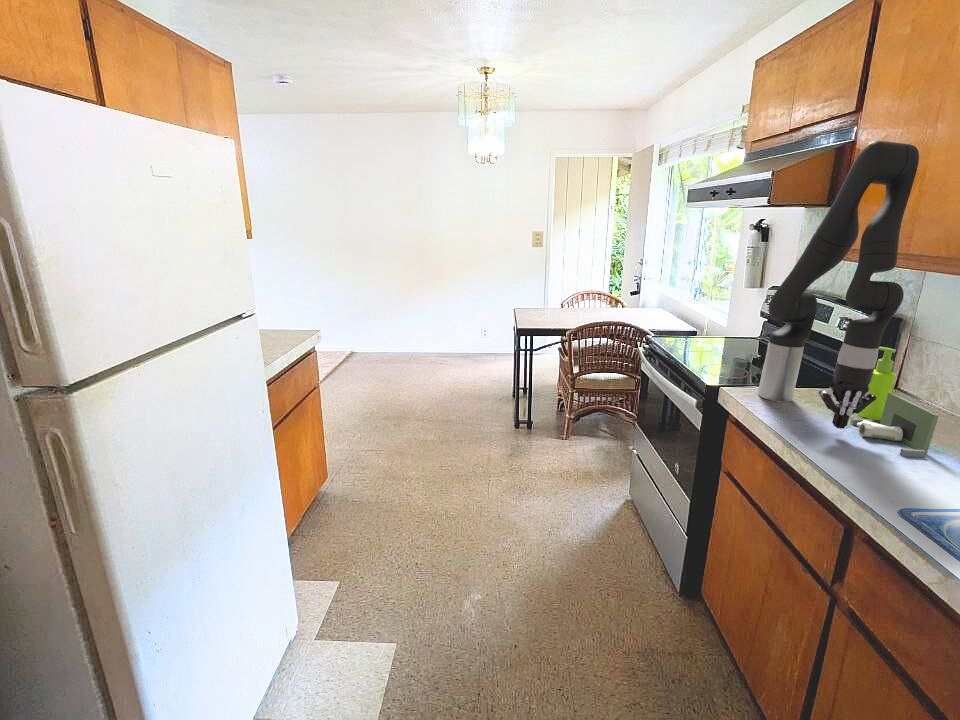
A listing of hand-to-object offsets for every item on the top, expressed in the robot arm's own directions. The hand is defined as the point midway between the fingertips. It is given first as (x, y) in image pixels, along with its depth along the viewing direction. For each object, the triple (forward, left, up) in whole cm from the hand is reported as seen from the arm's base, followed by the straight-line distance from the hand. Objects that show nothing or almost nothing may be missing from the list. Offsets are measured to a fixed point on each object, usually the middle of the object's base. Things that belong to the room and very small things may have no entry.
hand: (838, 427), depth 126 cm
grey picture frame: (0, +13, -3) cm, 13 cm away
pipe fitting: (-2, +11, -3) cm, 12 cm away
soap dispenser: (-16, +18, -3) cm, 24 cm away
